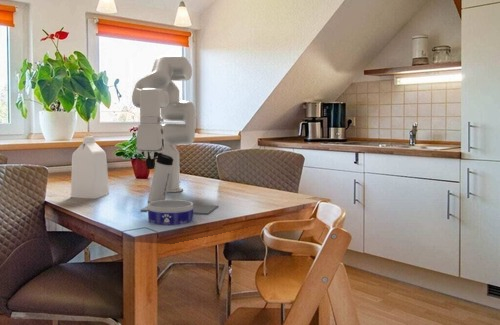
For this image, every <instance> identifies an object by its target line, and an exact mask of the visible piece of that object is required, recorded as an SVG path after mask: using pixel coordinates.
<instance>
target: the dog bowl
mask: <svg viewBox="0 0 500 325" xmlns="http://www.w3.org/2000/svg"><path fill="white" fill-rule="evenodd" d="M193 204H194V202H192V201H189V200H186V199H185V200H184V199H183V200H181V199H165V200H159V201H153V202H150V203H149V204H148V203H147V206H148V211H147V213H148V214H147V215H148V217H147V218H148V222H149V223H150V224H152V225H159V226H178V225H179V226H180V225H186V224H189V223H191V222H193V220H194V214H193Z"/></svg>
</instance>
